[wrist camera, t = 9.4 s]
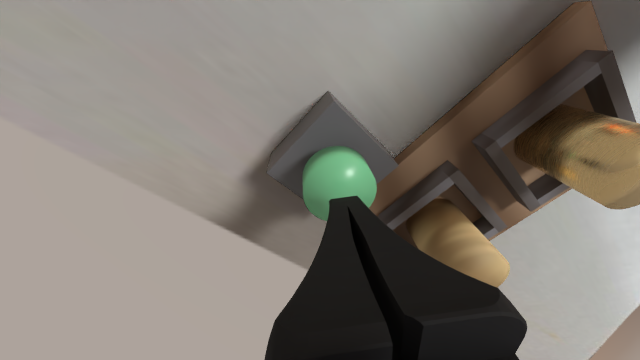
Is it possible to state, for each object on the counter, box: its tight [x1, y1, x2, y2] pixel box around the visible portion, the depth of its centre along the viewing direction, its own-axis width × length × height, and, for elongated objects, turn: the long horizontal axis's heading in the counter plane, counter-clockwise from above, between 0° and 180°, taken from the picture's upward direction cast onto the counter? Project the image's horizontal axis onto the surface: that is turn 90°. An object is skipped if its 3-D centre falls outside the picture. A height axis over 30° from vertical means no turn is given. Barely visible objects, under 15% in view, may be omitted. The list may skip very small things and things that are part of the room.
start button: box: [303, 146, 377, 221], centre depth 14 cm, size 4×4×2 cm
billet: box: [514, 104, 640, 209], centre depth 15 cm, size 4×4×6 cm
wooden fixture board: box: [369, 1, 636, 287], centre depth 17 cm, size 20×13×7 cm, turn 136°
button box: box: [267, 91, 399, 200], centre depth 17 cm, size 6×6×3 cm
